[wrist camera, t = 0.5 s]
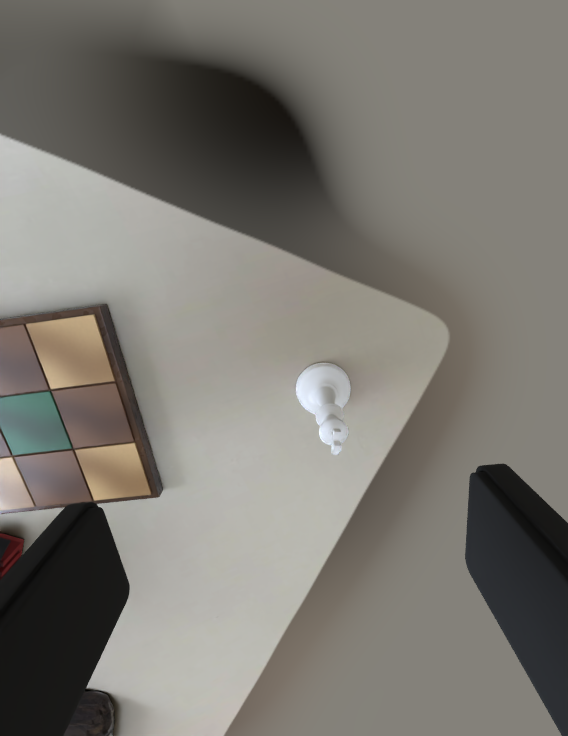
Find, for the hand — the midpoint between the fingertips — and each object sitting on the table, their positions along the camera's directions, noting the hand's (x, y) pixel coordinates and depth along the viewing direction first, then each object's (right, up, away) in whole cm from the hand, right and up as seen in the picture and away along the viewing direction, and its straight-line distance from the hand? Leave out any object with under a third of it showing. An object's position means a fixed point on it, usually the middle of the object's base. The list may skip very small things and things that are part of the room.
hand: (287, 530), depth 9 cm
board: (-23, -1, +23) cm, 33 cm away
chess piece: (+3, +2, +22) cm, 23 cm away
